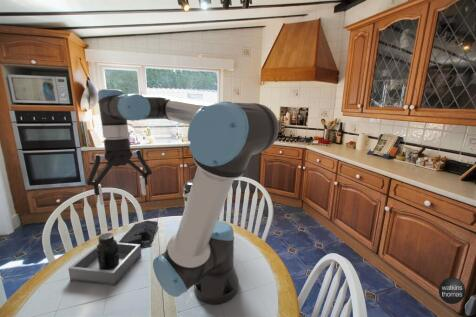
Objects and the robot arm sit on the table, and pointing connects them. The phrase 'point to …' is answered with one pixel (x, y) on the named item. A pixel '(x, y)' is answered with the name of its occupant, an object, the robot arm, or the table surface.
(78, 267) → the bin
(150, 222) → the dark slate chunk
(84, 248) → the table surface
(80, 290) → the table surface
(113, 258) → the supplement bottle
